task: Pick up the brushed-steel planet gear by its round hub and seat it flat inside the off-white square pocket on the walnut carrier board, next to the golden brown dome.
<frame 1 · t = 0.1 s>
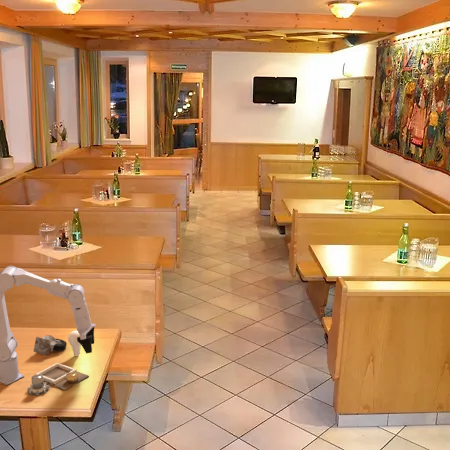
hand: (90, 348, 221), 11 cm above the table, tool pointing down, fingers open, 7 cm apart
carrier pocket: (56, 375, 222), resting on carrier board
planet gear: (38, 390, 212), on the table
golden brown dome: (72, 381, 217), resting on carrier board
lightbulb: (77, 356, 238), on the table
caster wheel: (52, 350, 244), on the table
carrier board: (61, 377, 221), on the table
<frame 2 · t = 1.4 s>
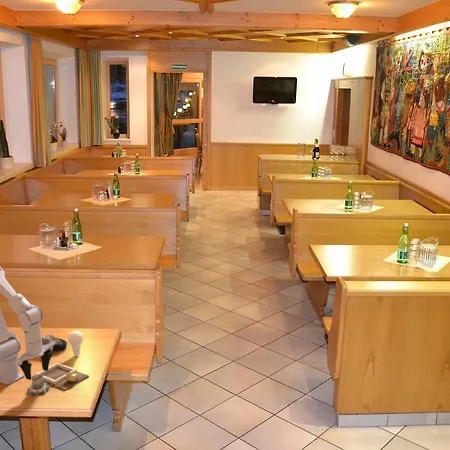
hand: (37, 374, 210), 7 cm above the table, tool pointing down, fingers open, 7 cm apart
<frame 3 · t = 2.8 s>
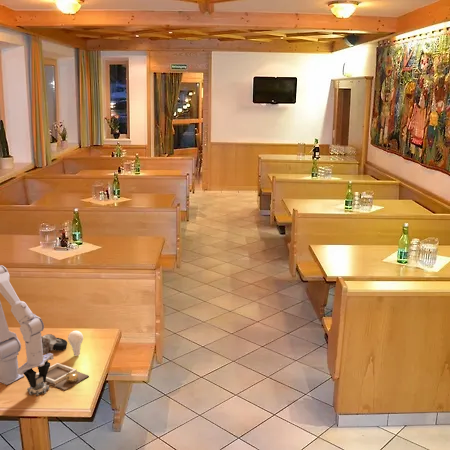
hand: (37, 384, 211), 3 cm above the table, tool pointing down, fingers closed on planet gear, 4 cm apart
planet gear: (38, 390, 212), on the table, touching gripper
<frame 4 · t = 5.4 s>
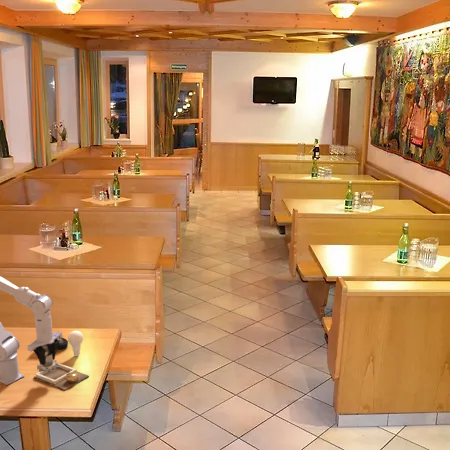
hand: (47, 361, 216), 8 cm above the table, tool pointing down, fingers closed on planet gear, 4 cm apart
planet gear: (48, 367, 216), point 6 cm above the table, touching gripper
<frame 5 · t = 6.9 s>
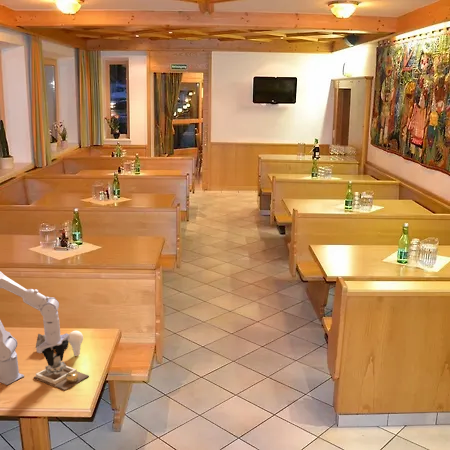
hand: (55, 362, 221), 6 cm above the table, tool pointing down, fingers closed on planet gear, 4 cm apart
planet gear: (56, 368, 221), point 3 cm above the table, touching gripper
when the fingers open (4 cm above the table, at t = 8.0 s): planet gear drops 1 cm, resting on carrier board.
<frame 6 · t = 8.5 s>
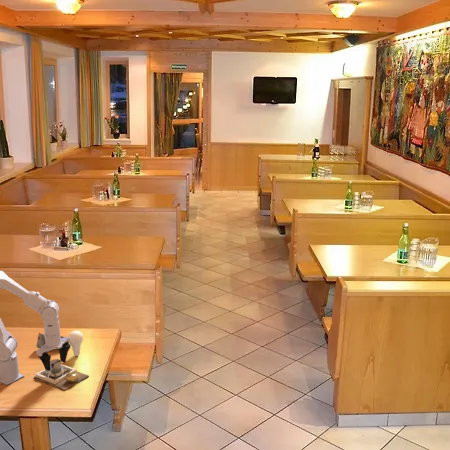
hand: (55, 365, 221), 4 cm above the table, tool pointing down, fingers open, 7 cm apart
planet gear: (56, 374, 222), resting on carrier board
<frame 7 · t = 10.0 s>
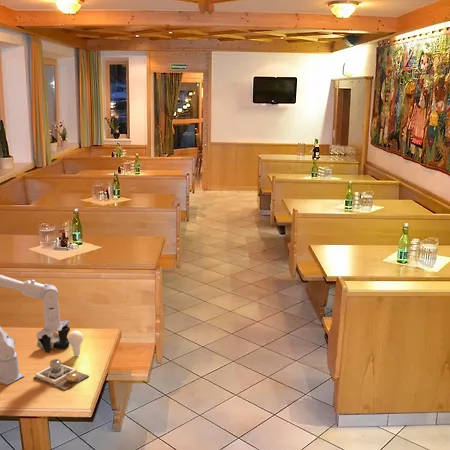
hand: (55, 348, 224), 9 cm above the table, tool pointing down, fingers open, 7 cm apart
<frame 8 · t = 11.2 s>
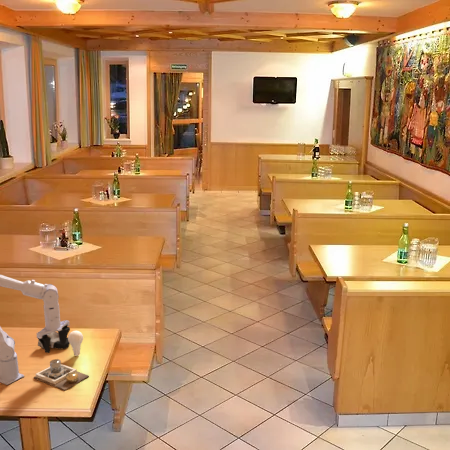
hand: (55, 348, 224), 9 cm above the table, tool pointing down, fingers open, 7 cm apart
at the end: planet gear 0.0 cm off-centre on the carrier pocket, point 0.5 cm above the carrier pocket's base; planet gear tilted 0°; the gripper is holding nothing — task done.
